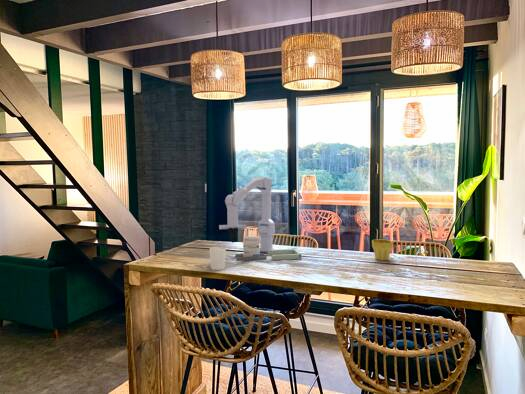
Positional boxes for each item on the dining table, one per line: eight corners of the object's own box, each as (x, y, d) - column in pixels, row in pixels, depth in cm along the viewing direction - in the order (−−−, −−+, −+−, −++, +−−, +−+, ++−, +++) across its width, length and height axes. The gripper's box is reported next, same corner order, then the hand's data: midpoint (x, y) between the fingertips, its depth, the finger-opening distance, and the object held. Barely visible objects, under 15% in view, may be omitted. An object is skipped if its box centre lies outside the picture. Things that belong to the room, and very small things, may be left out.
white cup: (206, 268, 197) (206, 248, 196) (218, 265, 202) (218, 246, 202) (217, 271, 191) (216, 250, 191) (229, 268, 197) (229, 248, 196)
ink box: (259, 257, 221) (259, 235, 221) (258, 259, 216) (258, 237, 216) (244, 256, 222) (244, 235, 221) (243, 258, 217) (243, 237, 216)
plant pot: (373, 261, 210) (373, 242, 209) (370, 256, 220) (370, 239, 219) (393, 261, 209) (394, 242, 208) (389, 257, 219) (390, 239, 218)
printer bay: (235, 256, 223) (235, 254, 222) (264, 255, 225) (264, 252, 225) (236, 260, 214) (236, 257, 214) (266, 259, 216) (266, 256, 216)
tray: (267, 254, 228) (267, 250, 228) (295, 253, 230) (295, 249, 230) (271, 260, 214) (271, 255, 214) (301, 258, 216) (301, 254, 216)
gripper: (219, 218, 211) (219, 243, 212) (247, 217, 213) (247, 243, 214) (219, 216, 218) (219, 241, 219) (245, 216, 220) (245, 240, 221)
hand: (233, 242), depth 217 cm, fingers closed
